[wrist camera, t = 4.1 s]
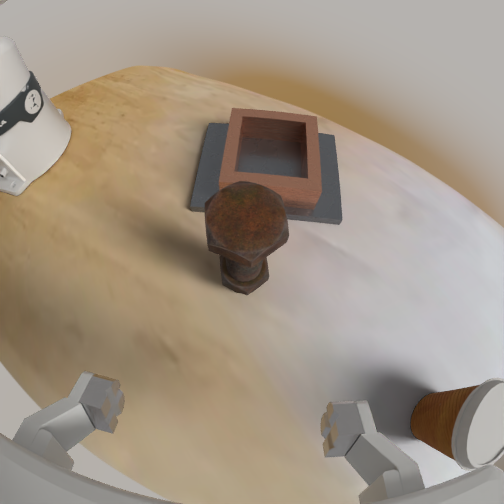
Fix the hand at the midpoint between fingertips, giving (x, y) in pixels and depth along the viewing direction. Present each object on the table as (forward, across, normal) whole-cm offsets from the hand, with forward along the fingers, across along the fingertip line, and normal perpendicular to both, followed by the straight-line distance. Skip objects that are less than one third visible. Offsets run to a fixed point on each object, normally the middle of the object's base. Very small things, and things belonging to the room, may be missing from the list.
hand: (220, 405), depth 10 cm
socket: (+32, -2, -4) cm, 32 cm away
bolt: (+22, 0, +7) cm, 23 cm away
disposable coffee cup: (+10, -24, +18) cm, 32 cm away
